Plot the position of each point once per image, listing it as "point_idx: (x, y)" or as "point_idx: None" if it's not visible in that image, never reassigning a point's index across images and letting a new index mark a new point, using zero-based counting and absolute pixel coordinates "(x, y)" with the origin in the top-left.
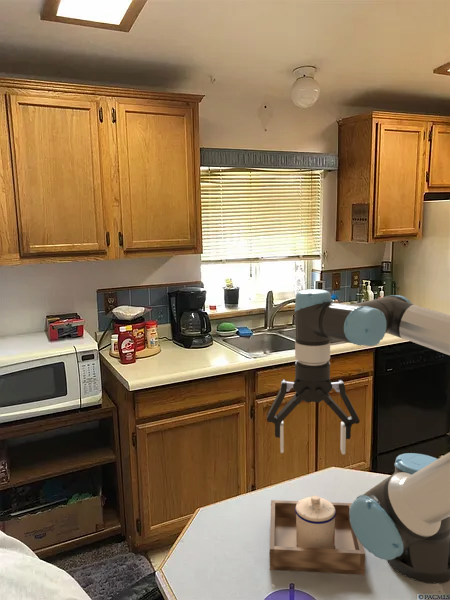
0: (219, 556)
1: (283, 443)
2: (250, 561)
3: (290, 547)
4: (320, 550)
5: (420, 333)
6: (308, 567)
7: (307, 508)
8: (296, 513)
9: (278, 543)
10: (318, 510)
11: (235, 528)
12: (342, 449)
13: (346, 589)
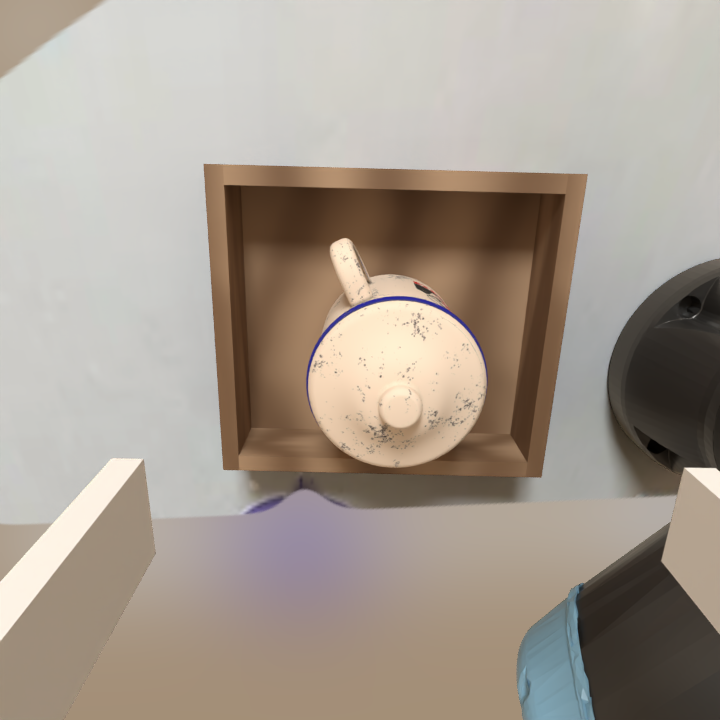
0: (74, 386)
1: (114, 623)
2: (177, 403)
3: (294, 460)
4: (395, 469)
5: None
6: None
7: (358, 427)
8: (311, 410)
9: (260, 341)
10: (406, 443)
11: (94, 240)
12: (692, 596)
13: (452, 490)
